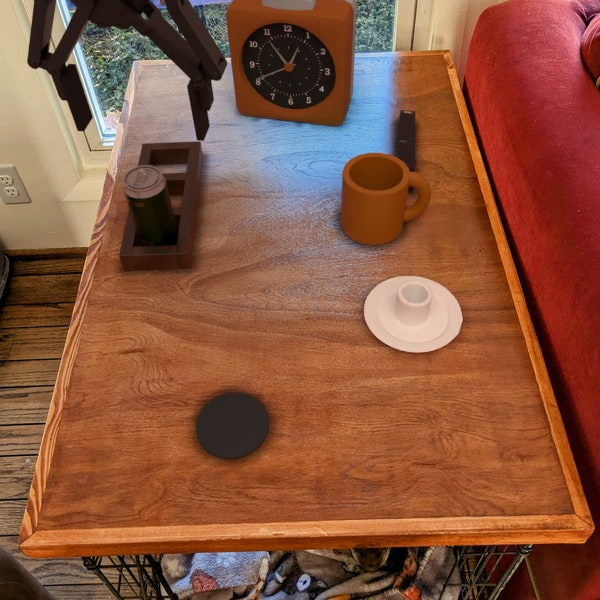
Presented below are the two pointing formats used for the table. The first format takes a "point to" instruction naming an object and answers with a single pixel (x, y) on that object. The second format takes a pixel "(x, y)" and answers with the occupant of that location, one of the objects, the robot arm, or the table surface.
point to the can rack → (184, 216)
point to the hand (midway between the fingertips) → (143, 128)
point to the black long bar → (407, 140)
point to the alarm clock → (293, 58)
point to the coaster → (232, 425)
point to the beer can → (150, 206)
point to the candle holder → (413, 314)
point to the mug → (379, 197)
